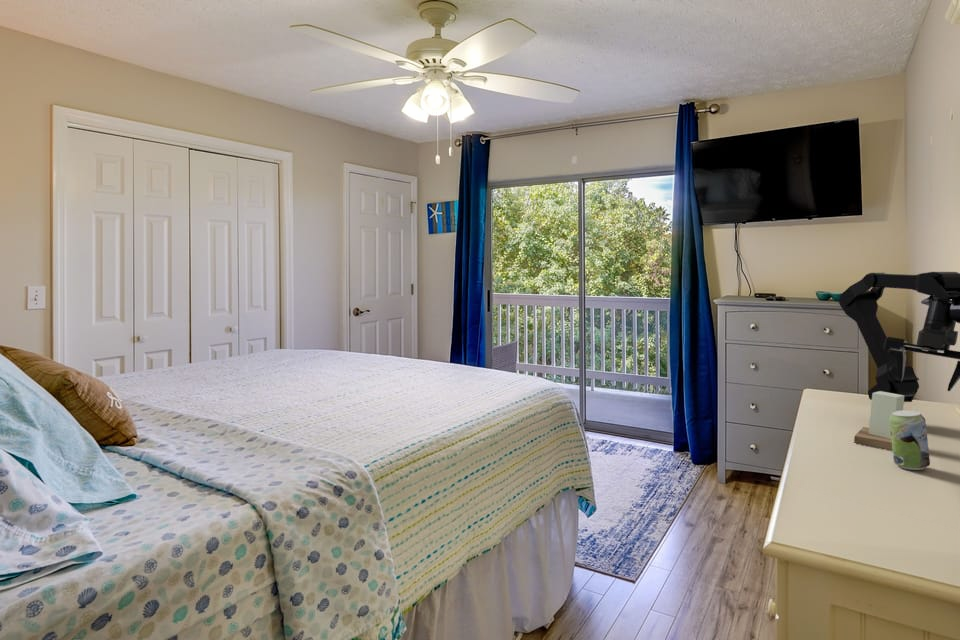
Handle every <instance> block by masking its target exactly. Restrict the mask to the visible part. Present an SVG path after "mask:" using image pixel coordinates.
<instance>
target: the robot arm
mask: <svg viewBox="0 0 960 640" xmlns="http://www.w3.org/2000/svg"><path fill="white" fill-rule="evenodd" d="M886 288H889V289H903V290H904V289H905V290H913V291H915V292H917V293H919V294H923V295H927V296H928V297H927V298H924V299H923V300H921V302H920V303H921V305H924V306H928V308H927V311H926V316H925V319H924V324H923V327H922V329H921V330H919V331H918V334H917V335H918V336H917V340H916V344H914V343H909V342H908V341H907V340H906V339H905V338H898V337H892V336H887V335H886V333H885V331H884V329H883V327H882V324H881V323H880V321H879V319H878V316H877V313H878V308H879V305H878V301H879V300H880V299H881V298H882V297H883V294H884V290H885V289H886ZM838 303H839V306H840V308H841V309H842V311H843V312H844V314H845V315H846V316H847V317H849V318H850V319H851V320H853V321H854V322H855V323H856V325H857V327H858V329H859V331H860V333H861V335H862V336H861V337H862V338H863V340H864V342H865V344H866V347H867V349H868V351H869V353H870V355H871V357H872V359H873V361H874V364H875V366H876V368H877V369H876V373H875V381H876V383H875V385H874V386H873V387H871V388H870V389H869V390H868V391H867V395H868V398H869V400H871V401H872V393H874V392H878V391H882V392H888V393H893V394H899V395H904V403H907V402H908V403H912V402H913V400H914V398H915V396H916V394H917V392H918V390H919V388H920V385H919V384H920V383H919V381H920V378H919V377H918V376H917V375H916V373H915V370H914V367H912V365H906V361H907V354H906V352H911V353H912V352H913V353H918V354H925V355H930V356H935V357H942V358H946V359H947V358H949V359H953V360H954V359H955V360H957V362H956V365H955V367H954V371H953V373H952V376H951V378H950V380H949V383H948V387H947V392H951V390H953V388H954V387H955V385H956V384H957V383H958V381H959V380H960V351H959V350H958V351H957V350H952V349H950V347H951V346H956V344H957V341H958V336H959V331H958V330H955V327H956V325H957V323H958V324H960V272H957V271H929V272H921V273H918V274H902V273H901V274H898V273H897V274H896V273H886V272H869V273H867V274H865V276H864V277H862V278H861V279H860V280H859V281H856V282H855V283H853V284H852V285H850V286H848V288H846V289H845V291H843V292H841V295H840V296H839V299H838Z"/></svg>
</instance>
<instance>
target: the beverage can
mask: <svg viewBox="0 0 960 640" xmlns="http://www.w3.org/2000/svg"><path fill="white" fill-rule="evenodd" d="M889 423H890V432H891V441H892V450H893V451H892V457H893V463H894V464H895V465H896V466H899V468H901V469H905V470H911V471H913V470H914V471H919V470H924V469H926V468H927V467H929V466H930V465H931V460H930V451H929V442H928V433H927V432H928V431H927V424H926V423H927V422H926V419H925V417H924V416H923V415H922V412H921V411H918V410H913V409H903V410H897V411H893V412H892V415H891V416H890V418H889Z"/></svg>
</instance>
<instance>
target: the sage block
mask: <svg viewBox="0 0 960 640" xmlns="http://www.w3.org/2000/svg"><path fill="white" fill-rule="evenodd" d="M904 403H905V402H904V395H899V394H893V393H888V392H882V391H878V392H874V393H872V400H871V406H870V415H869V426H868V428H869V434H871V435H875V436H880V437H884V438H888V439H891V432H890V423H889V418H890V416H891V415H892V412H893V411H897V410H904Z"/></svg>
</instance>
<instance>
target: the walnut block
mask: <svg viewBox="0 0 960 640" xmlns="http://www.w3.org/2000/svg"><path fill="white" fill-rule="evenodd" d="M853 440H854V442H853V444H854V443H856V444H855V445H858V444H861V445H860V446H864V445H865V446H864V447H869V446H870V448H876V449H879V448H881V449H880V450H884V449H886V451H889V450H891V451H890V452H893V450H892V441H891V439H888V438H884V437H880V436H875V435H871V434H869V427H867V426H862V428H860V429H859V430H858V431H857V433H856V434H855V435H854V439H853Z"/></svg>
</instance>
